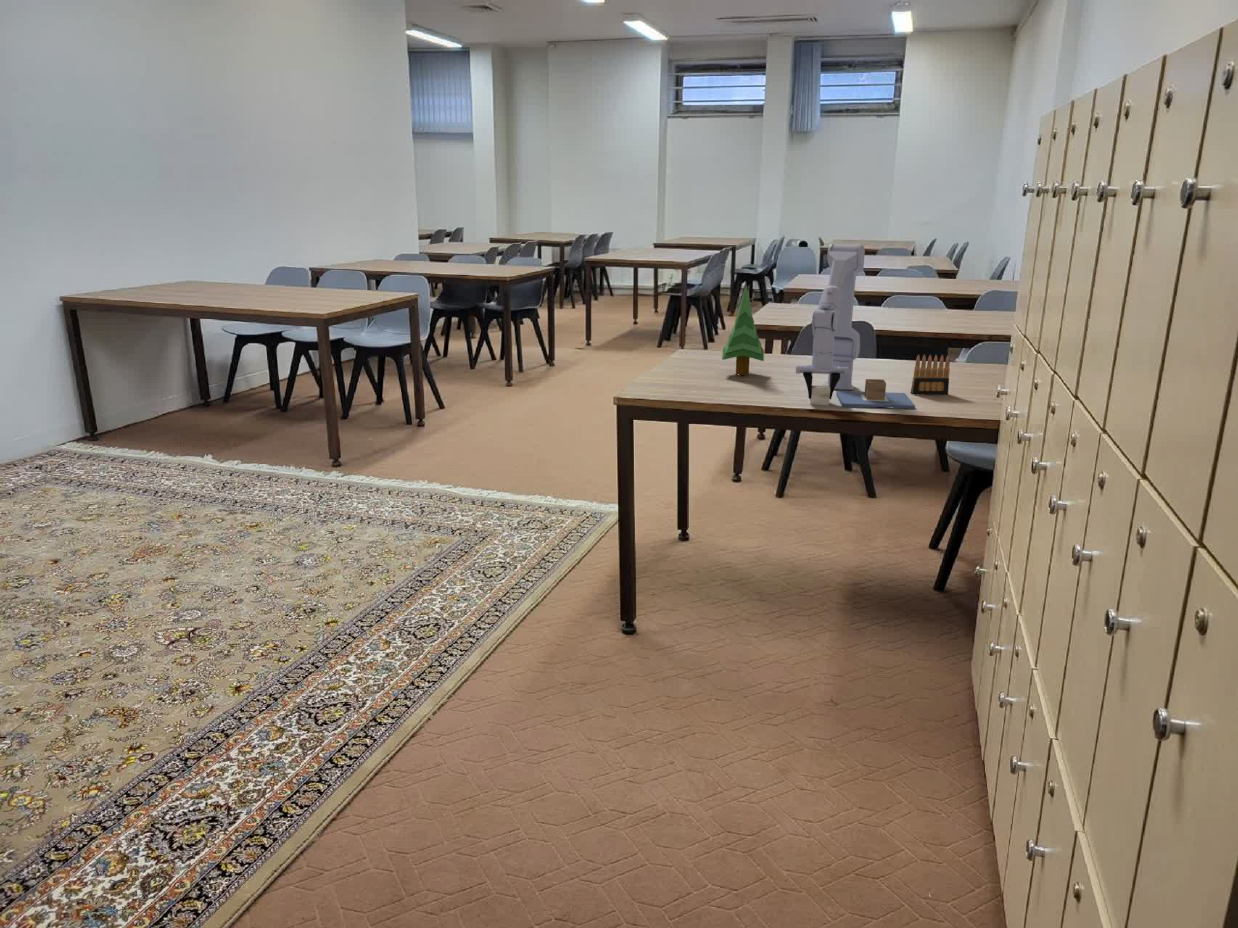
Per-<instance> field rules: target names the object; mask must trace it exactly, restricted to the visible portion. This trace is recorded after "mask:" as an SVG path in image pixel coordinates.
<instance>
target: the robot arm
mask: <svg viewBox="0 0 1238 928" xmlns="http://www.w3.org/2000/svg"><path fill="white" fill-rule="evenodd" d="M865 253H866V251H865V247H864V245H863V244H861V243H860V244H843V243H841V244H840V243H838V244H837V243H830V244H829V246H828V249H827V254H826V255H827V256H826V257H827V258H826V260H827V263H828V267H829V269H830V274H829V281H828V284H827V285H828V286H827V287H824V289H823V290H822V292H821V297H820V300H819V303H818V307H817V310H814V311H813V313H812V317H811V318H812V319H811V327H812V332H811V333H812V336H813V341H812V343H813V344H812V360H811V365H807V364H806V365H796V366H795V374H797V375H799V374H802V376H803V378H804V380H805V381H804V382H805V385H806V388H807V395H808V396H807V398H808V399H809V400H810V399H811V396H812V384H813V378H814V377H813V375H814V374H818V375H819V374H821V375H827V374H828V375H827V376H828V377H827V381H824V385H829V387H830V400H832V397H833V393H834V391H835V390H841V391H845V390H846V391H847V390H848V391H851V390H852V391H854V390H855V387H854V386H853V384H852V381H853V370H854V360H856V359H857V358H858V357H859V355H860V350H861V340H860V339H861V335H860V333H859V332H858V331H857V330H856V329H854V328H853V327H852V325H853V312H854V300H855V290H856V289H855V287H856V278H857V275H858V273H859V274H860V273H861V272H863V269H864V268H865V267H864V265H865V255H866V254H865Z"/></svg>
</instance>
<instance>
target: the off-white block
mask: <svg viewBox="0 0 1238 928" xmlns="http://www.w3.org/2000/svg"><path fill="white" fill-rule="evenodd" d="M830 400H831V399H830V387H829V385H826V384H825V383H824V384H819V383H818V384H817V383H815V384H814V383H812V396H811V399H809V402H810V405H811V406H830Z"/></svg>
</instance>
